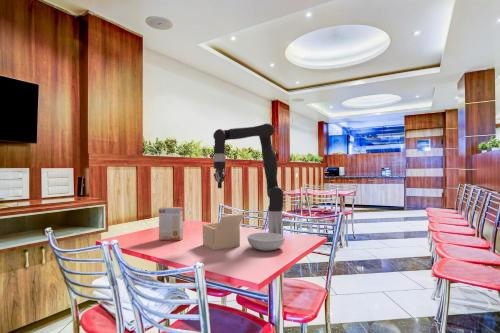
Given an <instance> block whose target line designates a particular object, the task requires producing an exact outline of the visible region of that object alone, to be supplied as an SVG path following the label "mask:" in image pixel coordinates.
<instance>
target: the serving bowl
mask: <svg viewBox="0 0 500 333" xmlns="http://www.w3.org/2000/svg"><path fill="white" fill-rule="evenodd" d="M285 239H286V238H285V236H284V234H283V235H280V234H276V233H269V232H256V233H255V232H254V233H250V234H249V235H247V241H248V244H249V245H250V246H251V247H252V248H253V249H257V250H259V251H264V252H266V251H267V252H269V251H273V250H277V249H279V248H281V247H282V246H283V244H284V242H285Z"/></svg>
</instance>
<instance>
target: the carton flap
mask: <svg viewBox="0 0 500 333" xmlns="http://www.w3.org/2000/svg"><path fill="white" fill-rule="evenodd" d="M244 217H245V213H239V214H231V215H222V216H221V218H220V220H219V221H218V222H219V224H218V226H217V229H222V228H229V227H236V226H239V225H241V223H242V221H243V219H244Z"/></svg>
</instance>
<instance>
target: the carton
mask: <svg viewBox="0 0 500 333" xmlns="http://www.w3.org/2000/svg"><path fill="white" fill-rule="evenodd" d="M219 222H220V221H218V222H211V223H205V224H202V244H203V246H205V247H206V248H208V249H210V250H212V251H214V252H217V251H222V250H226V249H227V250H228V249H233V248H238V247H240V246H241V240H240V239H241V237H240V236H241V232H240V230H241V228H240V226H241V224H239V226H236V227H229V228H222V229H217V226H218V224H219Z"/></svg>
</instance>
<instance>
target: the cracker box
mask: <svg viewBox="0 0 500 333" xmlns="http://www.w3.org/2000/svg"><path fill="white" fill-rule="evenodd" d="M183 210H184V209H183V206H162V207H159V208H158V241H160V242H161V241H169V242H170V241H176V242H179V241H181V240H183V239H184V226H183V225H184V223H183V222H184V219H183V217H184V214H183Z"/></svg>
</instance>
